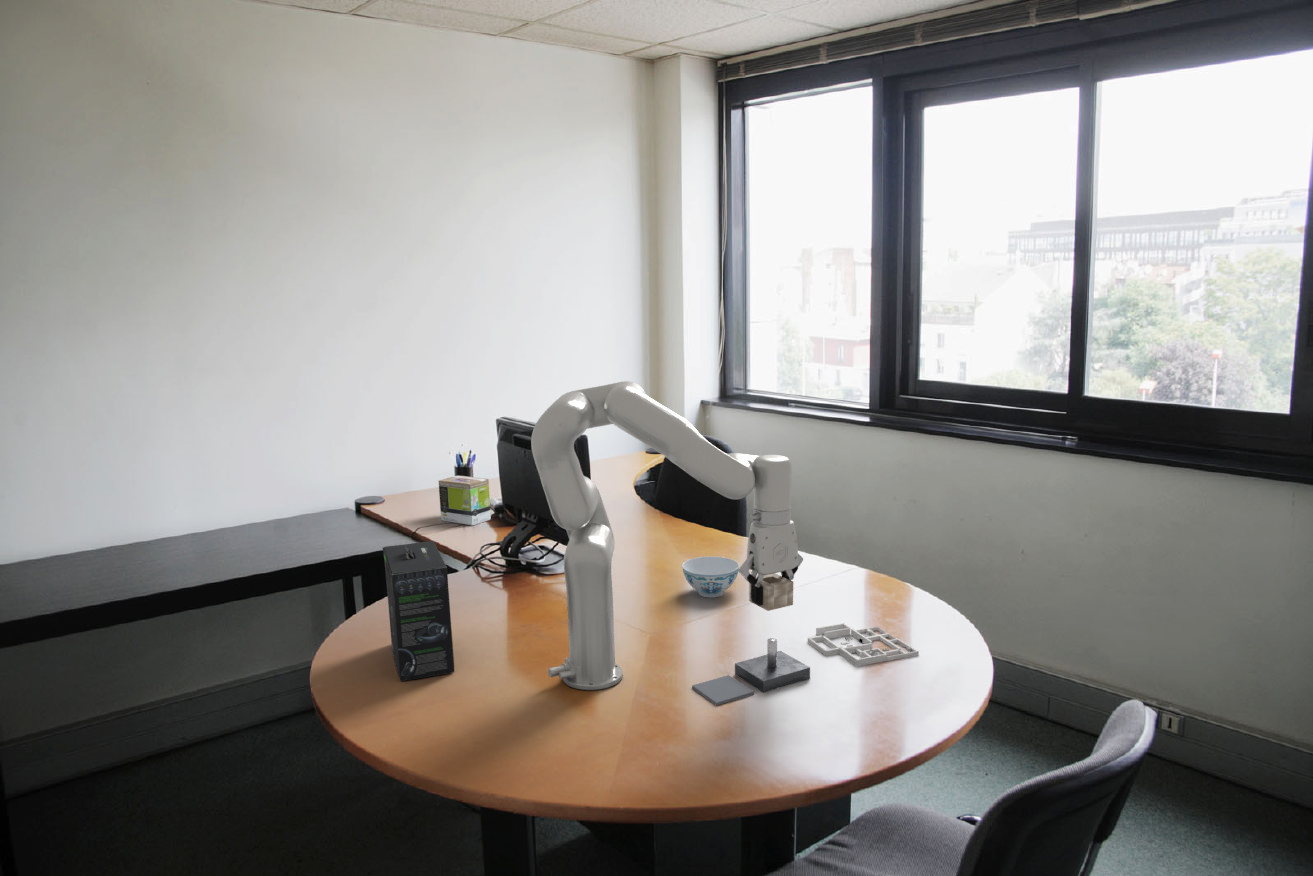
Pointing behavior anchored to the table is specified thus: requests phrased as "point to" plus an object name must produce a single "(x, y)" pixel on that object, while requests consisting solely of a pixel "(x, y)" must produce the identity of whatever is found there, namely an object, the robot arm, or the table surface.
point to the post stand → (772, 669)
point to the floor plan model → (861, 650)
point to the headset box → (419, 610)
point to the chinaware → (710, 574)
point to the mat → (722, 690)
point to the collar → (775, 592)
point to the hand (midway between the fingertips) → (771, 599)
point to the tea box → (464, 500)
